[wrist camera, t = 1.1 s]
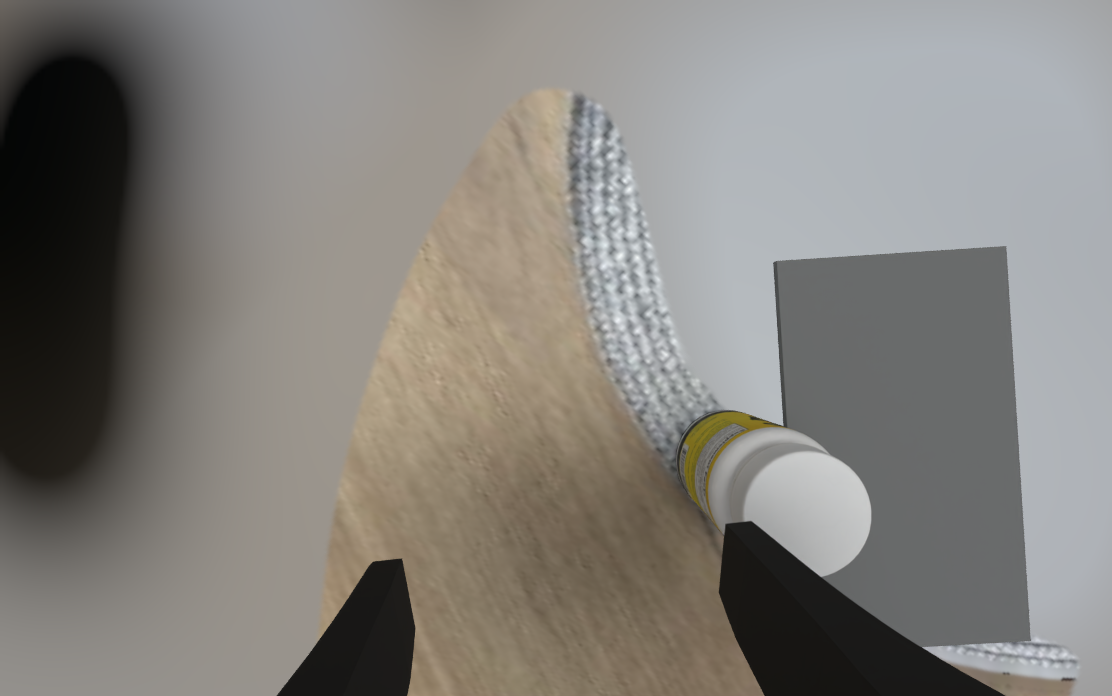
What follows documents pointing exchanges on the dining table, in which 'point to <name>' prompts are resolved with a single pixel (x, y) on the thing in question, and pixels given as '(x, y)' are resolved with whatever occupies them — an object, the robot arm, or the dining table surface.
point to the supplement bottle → (775, 487)
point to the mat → (916, 431)
